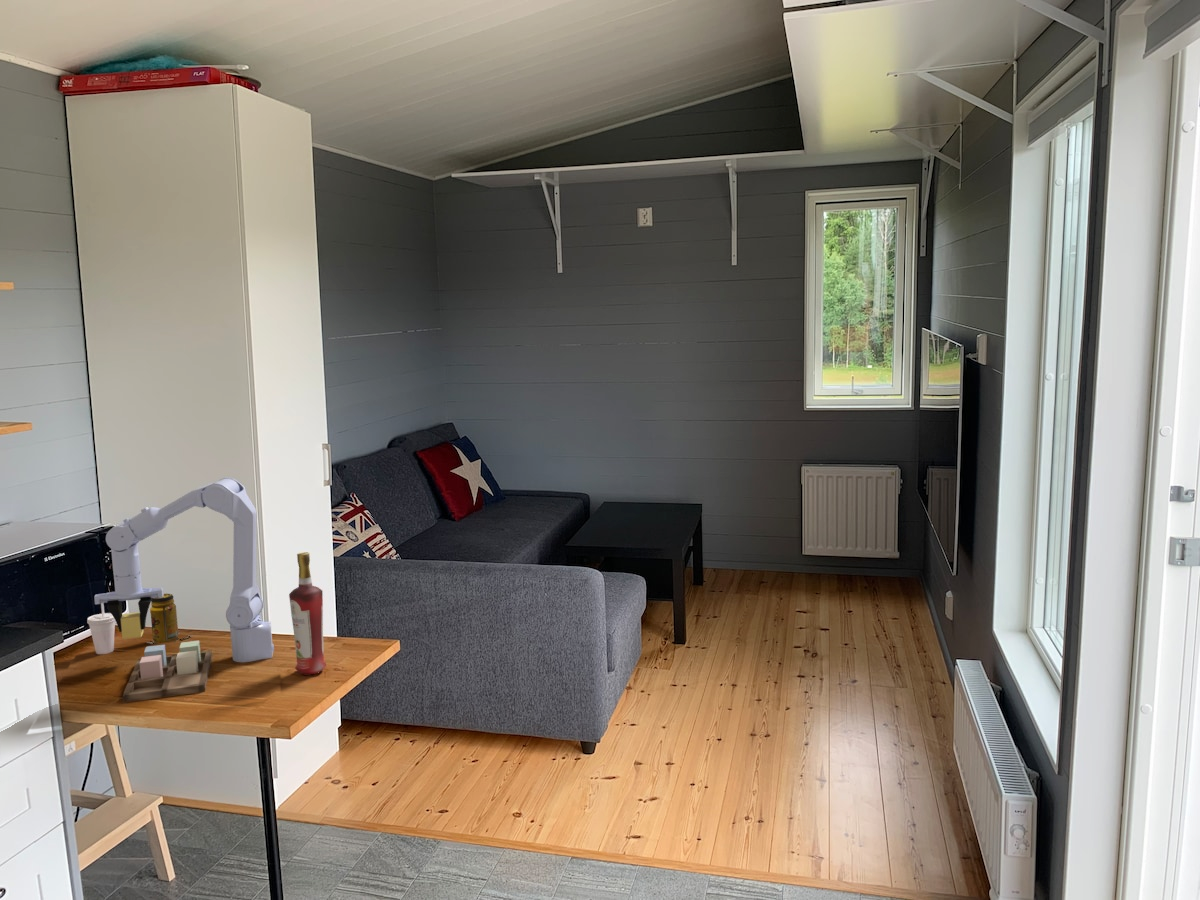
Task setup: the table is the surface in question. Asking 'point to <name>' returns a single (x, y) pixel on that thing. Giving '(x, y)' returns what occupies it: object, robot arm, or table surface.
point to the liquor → (307, 620)
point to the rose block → (151, 667)
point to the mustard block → (131, 625)
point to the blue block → (156, 652)
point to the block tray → (168, 680)
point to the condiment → (164, 619)
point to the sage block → (191, 648)
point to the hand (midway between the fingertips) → (132, 629)
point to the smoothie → (102, 631)
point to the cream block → (187, 662)
